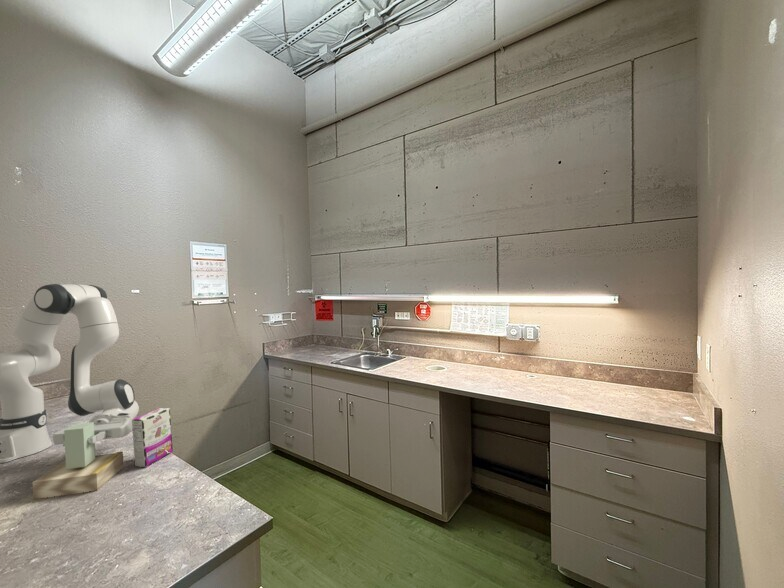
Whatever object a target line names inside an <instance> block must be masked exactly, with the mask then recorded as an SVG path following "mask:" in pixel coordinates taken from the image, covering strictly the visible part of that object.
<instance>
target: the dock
mask: <svg viewBox="0 0 784 588" xmlns="http://www.w3.org/2000/svg"><path fill="white" fill-rule="evenodd" d="M95 458H96V459H95V460H93V461H92V462H91V463H89V464H88V465H87V466H86V467H79V468H71V469H66V459H65V460H64V461H62V462H60V463H58V464H57V465H56V466H55V467H54V468H52V469H51V470H49V471H47V472H46V473H44V474H43V475H41V476H40V477H38V478H37V479H36V480H34V481H32V492H33V493H32V494H33V495H32V496H33V500H39V499H47V497H48V498H54V496H55V497H60V496H61V495H62V496H70V495H74V494H76V495H77V494H83V492H84V493H90V492H89V491H91V492H97V491H96V490H98V489H99V490H100V489H101V488H102V487H103V486H104V485H106V483H107V482H108V480H109V481H110V480H111V479H112V478H113V477H114V476H115V475H116V474H118V473H119V472H120V471H119V470H122V469H123V468H124V451H123V450H121V451H117V452H114V453H107V454H105V453H104V454H97V455H96V454H95ZM99 490H98V491H99Z"/></svg>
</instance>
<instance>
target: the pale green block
mask: <svg viewBox="0 0 784 588" xmlns="http://www.w3.org/2000/svg"><path fill="white" fill-rule="evenodd" d="M89 422H90V421H89ZM89 422H83V423H74V424H72V425H70V426H71V427H69V426H68V427H69V428H67V427H66V428H67V429H66V430H64V439H65V446H64V453H65V454H64V455H65V460H66V469H71V468H79V467H86V466H87V465H88V464H89V463H91V462H92V461H93V460H95V459H96V458H95V456H96V442H94V443H90V444H88V441H87V439H88V438H89V437H91V436H94V422H90V423H89Z"/></svg>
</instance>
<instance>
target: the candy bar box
mask: <svg viewBox="0 0 784 588" xmlns="http://www.w3.org/2000/svg"><path fill="white" fill-rule="evenodd" d="M132 430H133V431H132V441H133V453H134V454H133V455H134V466H135V467H136V466H141V467H140V468H147V466H148V467H150V466H151V465H153V464H154V463H157V462H158V461H159V460H161V459H163V458H165V457H166V456H168V455H169V454H167V452H166V451H165V450H167V451H168V452H170V454H171V453H173V452H174V450H173V436H172V435H173V434H172V421H171V408H168V407H158V408H157V409H154V410H152V411H149V412H146V413H144V414H142V415H140V416H136V417H135V418H134V419H133V420H132ZM162 448H164V449H162ZM152 463H153V464H152Z"/></svg>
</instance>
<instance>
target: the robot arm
mask: <svg viewBox="0 0 784 588" xmlns="http://www.w3.org/2000/svg"><path fill="white" fill-rule="evenodd" d="M67 314H72V315H74V316H76V318H77V321H78V329H79V338H78V341H77V344H75V346H73V347H72V350H71V355H70V356H71V357H70V390H69V395H68V399H67V406H68V409H69V410H70V412H71V413H73V414H74V415H77V416H80V417H85V416H88V415H90V414H94V413H96V412H100V413H99V414H96V415H95V416H93V417H92V418H91V419H90V420H89V422H88V423H90V422H94V436H91V437H89V438H88V439H87V441H88V444H90V443H94V442H95V443H96V442H99V441H101V440H110V439H120V438H123V437H126V436H128V435H129V434H130V433H131V432H132V433H133V430H132V420H133V419H135V418H137V417H138V413H139V411H140V407H139V403H138V402H137V401H136V400H135V391H134V388H133V386H132V385H131V384H130V383H129V382H128V381H127V380H124V379H121V378H119V379H116V380H111V381H106V382H103V383H99V384H95V385H91V382H90V381H91V363H92V361H93V360H94V358H95V357H97V356H98V355H99V354H100V353H103V352H104V351H106V350H108V349H110V348H112V346H113V345H115V343H116V342H117V341H118V339H119V337H120V327H119V322H118V319H117V314H116V311H115V309H114V307H113V305H112V303H111V301H110V300H109V299H108V295H107V293H106V291H105V289H103V288H102V287H100V286H97V285H94V284H93V285H92V284H82V283H81V284H80V283H60V284H59V283H52V284H51V283H50V284H45V285H42V286H39V288H37V290H36V291H35V293H34V295H33V296H31V298H30V299H29V301H28V302H27V304H26V305H25V307H24V309H23V311H22V313H21V315H20V316H19V319H18V322H17V324H16V326H15V328H14V330H13V335H14V337H15V339H16V340H17V341H19V342H21V345H20V347H19V348H18V349H15V350H9V351H5V352H0V409H1V418H0V464H1V463H2V464H3V463H8V462H11V461H14V460H16V459H20V458H23V457H27V456H31V455H34V454H37V453H39V452H41V451H44V450H46V449H48V448H50V447H52V446H53V445H62V446H63V447H65V439H64V430H66V429H67V428H69V427H71V426H72V425H69V426H67V427H64V428H62V429H61V430H57V431H56V432H54V433H53V435H52V440H51V438H50V435H49V432H48V428H47V422H48V421H47V418H48V417H47V416H48V415H47V410H46V409H45V400H44V399H45V398H44V396H45V395H44V391H43V390H42V389H41V388H39V387H35V386H33V385H32V384H31V382H30V380H29V377H34V376H36V375H37V376H38V375H42V374H44V373H47V372H49V371H50V370H54V369H55V368H57V367H58V366H59V365H60V363H61V358H62V357H61V354H60V351H59V350H57V348H55V347H54V342H55V337H56V334H57V332H58V330H59V328H60V325H61V324H62V321H63V318H64V315H67ZM101 411H102V412H101Z"/></svg>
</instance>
